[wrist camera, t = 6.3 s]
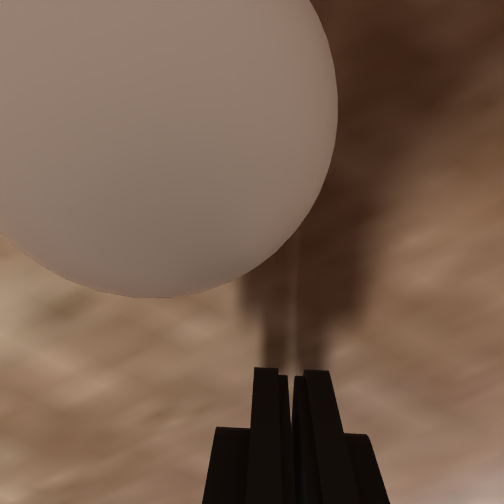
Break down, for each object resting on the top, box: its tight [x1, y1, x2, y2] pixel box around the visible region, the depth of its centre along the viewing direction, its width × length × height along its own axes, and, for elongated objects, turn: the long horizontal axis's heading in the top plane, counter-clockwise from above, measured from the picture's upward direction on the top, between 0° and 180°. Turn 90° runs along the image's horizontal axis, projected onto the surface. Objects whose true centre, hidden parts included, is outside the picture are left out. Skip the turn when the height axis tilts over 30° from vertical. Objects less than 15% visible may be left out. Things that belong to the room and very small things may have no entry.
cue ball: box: [0, 0, 338, 298], centre depth 7 cm, size 6×6×6 cm
